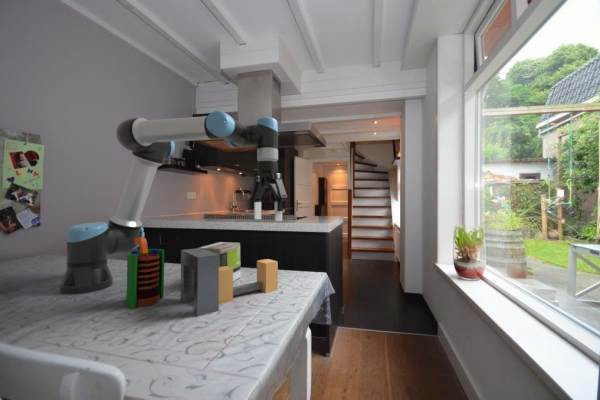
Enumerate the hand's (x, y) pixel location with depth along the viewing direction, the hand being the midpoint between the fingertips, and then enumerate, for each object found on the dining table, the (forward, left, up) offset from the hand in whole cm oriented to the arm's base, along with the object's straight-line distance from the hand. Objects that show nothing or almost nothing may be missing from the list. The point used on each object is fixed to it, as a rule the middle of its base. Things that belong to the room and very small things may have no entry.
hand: (267, 220), depth 96 cm
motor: (-14, -37, -25) cm, 46 cm away
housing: (0, -25, -25) cm, 35 cm away
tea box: (-19, -10, -25) cm, 33 cm away
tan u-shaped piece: (0, -9, -25) cm, 26 cm away
